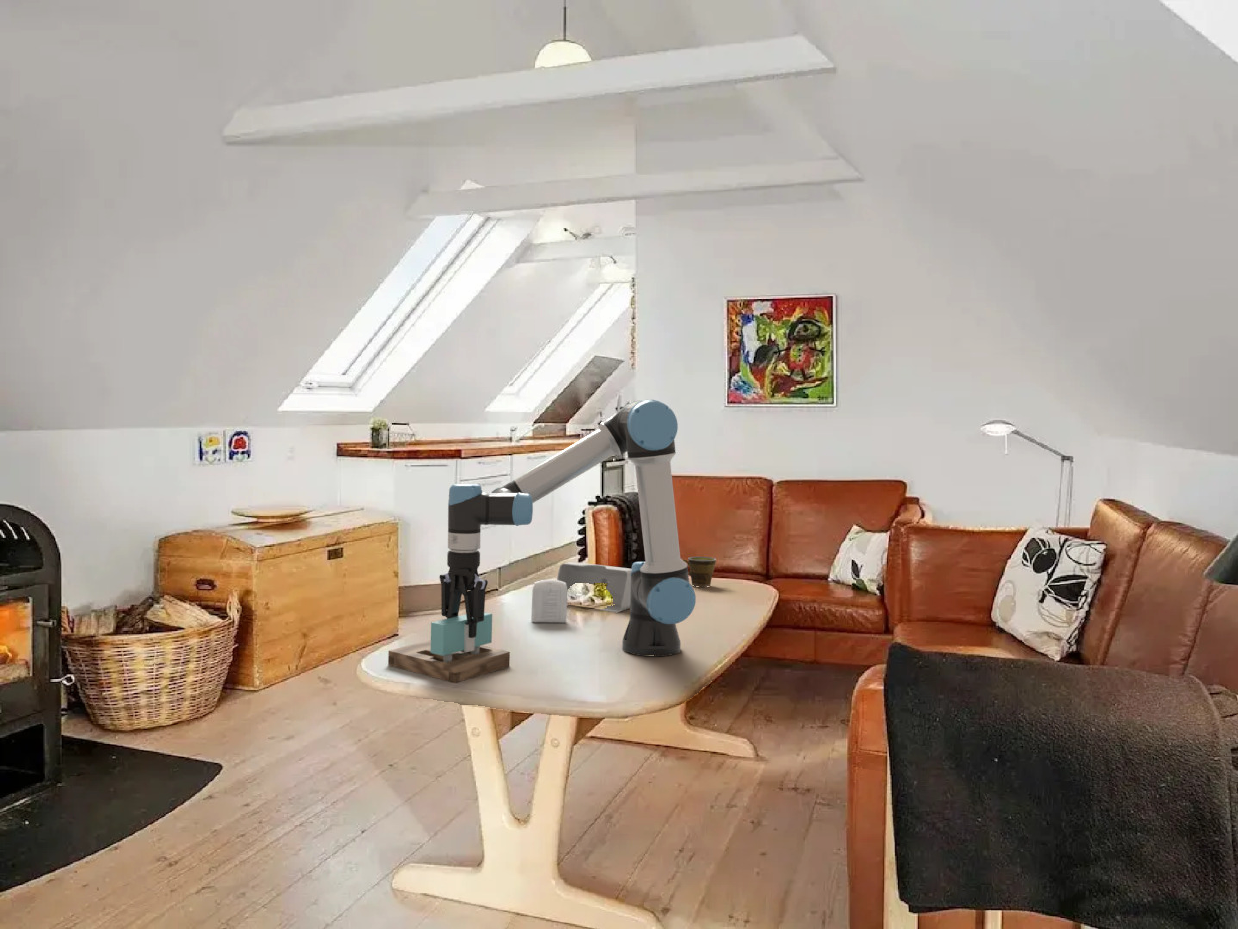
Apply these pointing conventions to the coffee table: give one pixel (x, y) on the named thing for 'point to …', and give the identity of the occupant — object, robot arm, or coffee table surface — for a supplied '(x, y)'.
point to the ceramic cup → (701, 570)
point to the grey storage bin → (600, 581)
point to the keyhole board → (455, 671)
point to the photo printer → (549, 601)
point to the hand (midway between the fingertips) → (461, 649)
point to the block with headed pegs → (458, 635)
